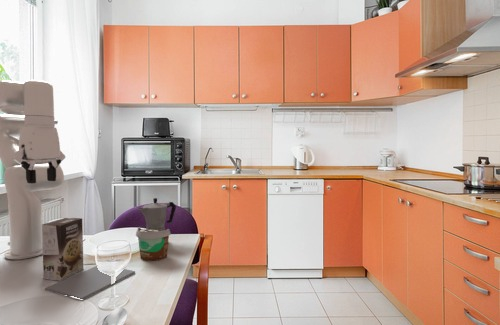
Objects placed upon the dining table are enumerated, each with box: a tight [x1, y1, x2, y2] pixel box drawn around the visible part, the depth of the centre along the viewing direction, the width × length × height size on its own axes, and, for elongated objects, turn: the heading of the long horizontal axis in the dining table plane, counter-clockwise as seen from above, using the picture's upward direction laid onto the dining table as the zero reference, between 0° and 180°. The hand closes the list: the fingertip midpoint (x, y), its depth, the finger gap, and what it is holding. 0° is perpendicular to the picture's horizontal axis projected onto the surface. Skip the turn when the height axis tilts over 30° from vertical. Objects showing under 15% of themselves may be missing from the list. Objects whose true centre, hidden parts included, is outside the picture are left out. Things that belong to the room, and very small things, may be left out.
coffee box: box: [42, 217, 85, 282], centre depth 93 cm, size 9×6×16 cm
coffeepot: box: [138, 197, 177, 231], centre depth 122 cm, size 15×9×18 cm, turn 133°
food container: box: [135, 226, 171, 262], centre depth 105 cm, size 12×6×10 cm, turn 76°
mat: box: [44, 265, 136, 300], centre depth 88 cm, size 14×18×1 cm
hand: (41, 181), depth 95 cm, fingers open, 5 cm apart
